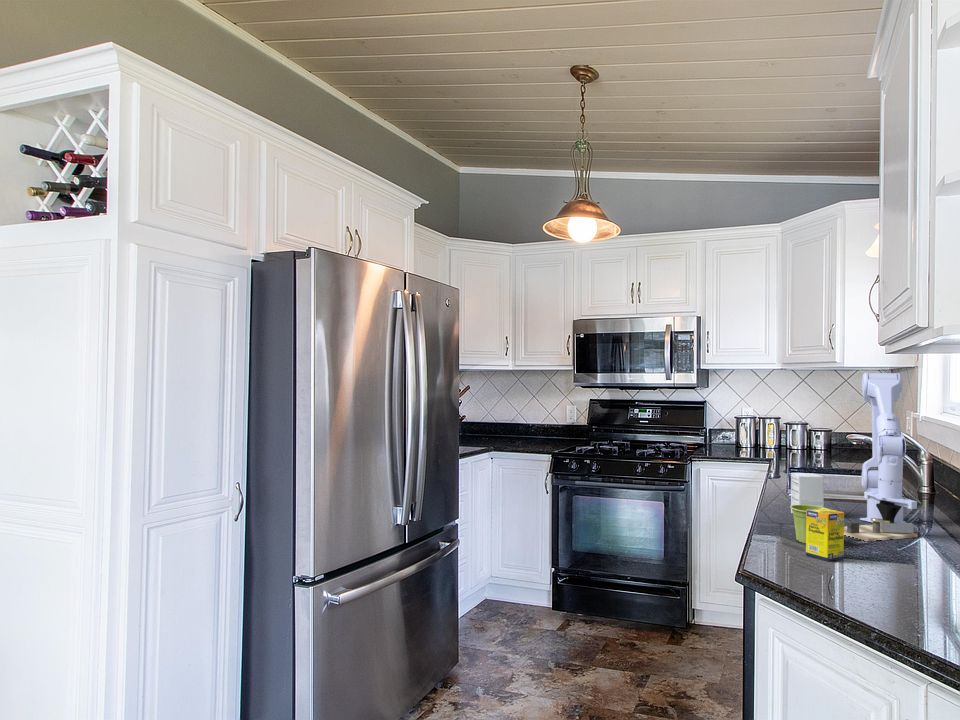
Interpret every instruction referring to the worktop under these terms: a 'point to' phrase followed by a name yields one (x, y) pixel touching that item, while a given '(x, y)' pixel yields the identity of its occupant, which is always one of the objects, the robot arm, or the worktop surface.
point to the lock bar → (894, 526)
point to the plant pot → (801, 520)
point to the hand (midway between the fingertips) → (889, 530)
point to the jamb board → (873, 532)
